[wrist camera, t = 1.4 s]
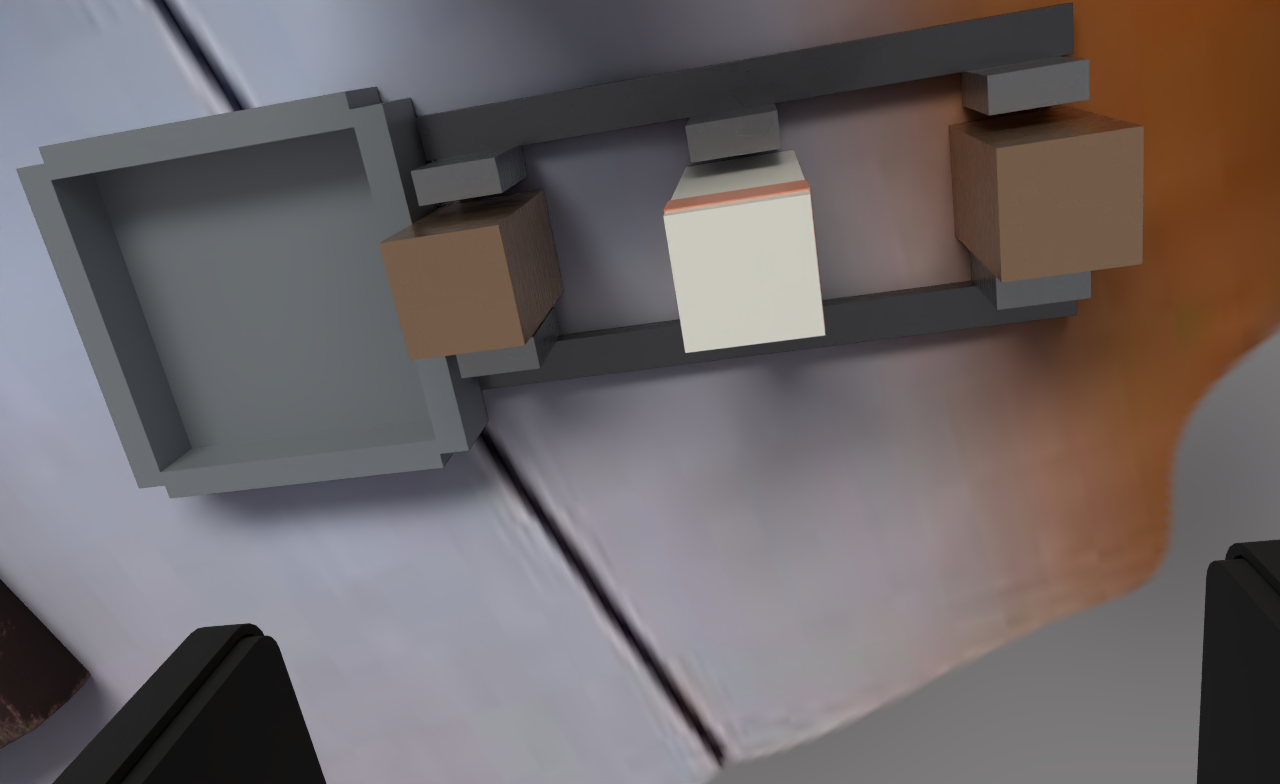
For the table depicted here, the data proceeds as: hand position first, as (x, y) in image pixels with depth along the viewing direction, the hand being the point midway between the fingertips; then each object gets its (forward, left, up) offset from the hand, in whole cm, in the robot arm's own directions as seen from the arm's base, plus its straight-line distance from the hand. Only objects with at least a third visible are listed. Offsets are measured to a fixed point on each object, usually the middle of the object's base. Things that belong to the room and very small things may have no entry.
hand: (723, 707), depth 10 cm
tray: (+19, +1, -28) cm, 34 cm away
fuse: (0, 0, -28) cm, 28 cm away
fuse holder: (0, 0, -28) cm, 28 cm away
